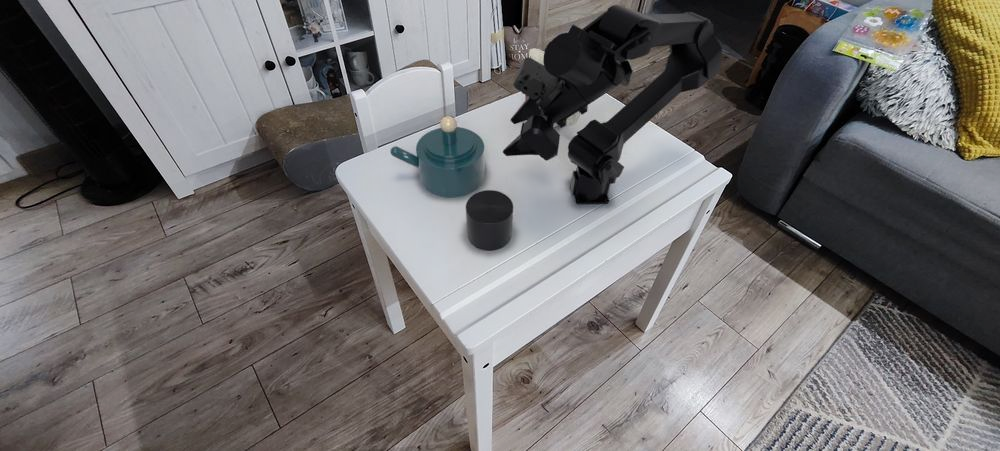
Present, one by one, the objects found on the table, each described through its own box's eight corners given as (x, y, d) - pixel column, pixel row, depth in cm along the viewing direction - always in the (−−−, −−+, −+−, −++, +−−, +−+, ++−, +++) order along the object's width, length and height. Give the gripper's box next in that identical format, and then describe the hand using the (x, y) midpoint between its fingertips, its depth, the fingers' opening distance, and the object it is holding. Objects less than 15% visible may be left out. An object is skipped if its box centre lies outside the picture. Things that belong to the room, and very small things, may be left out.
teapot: (483, 143, 99) (483, 112, 94) (485, 196, 88) (485, 165, 82) (400, 145, 99) (394, 113, 93) (391, 198, 88) (384, 166, 82)
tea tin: (510, 217, 85) (511, 189, 80) (513, 250, 80) (514, 223, 74) (467, 218, 85) (465, 190, 79) (467, 251, 79) (465, 224, 74)
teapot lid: (483, 140, 87) (483, 115, 83) (452, 165, 82) (450, 139, 78) (447, 123, 91) (445, 97, 86) (415, 146, 86) (411, 120, 81)
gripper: (553, 19, 72) (485, 76, 82) (542, 80, 60) (463, 139, 69) (595, 70, 77) (526, 118, 87) (592, 136, 65) (512, 183, 74)
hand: (508, 137), depth 79 cm, fingers open, 9 cm apart
